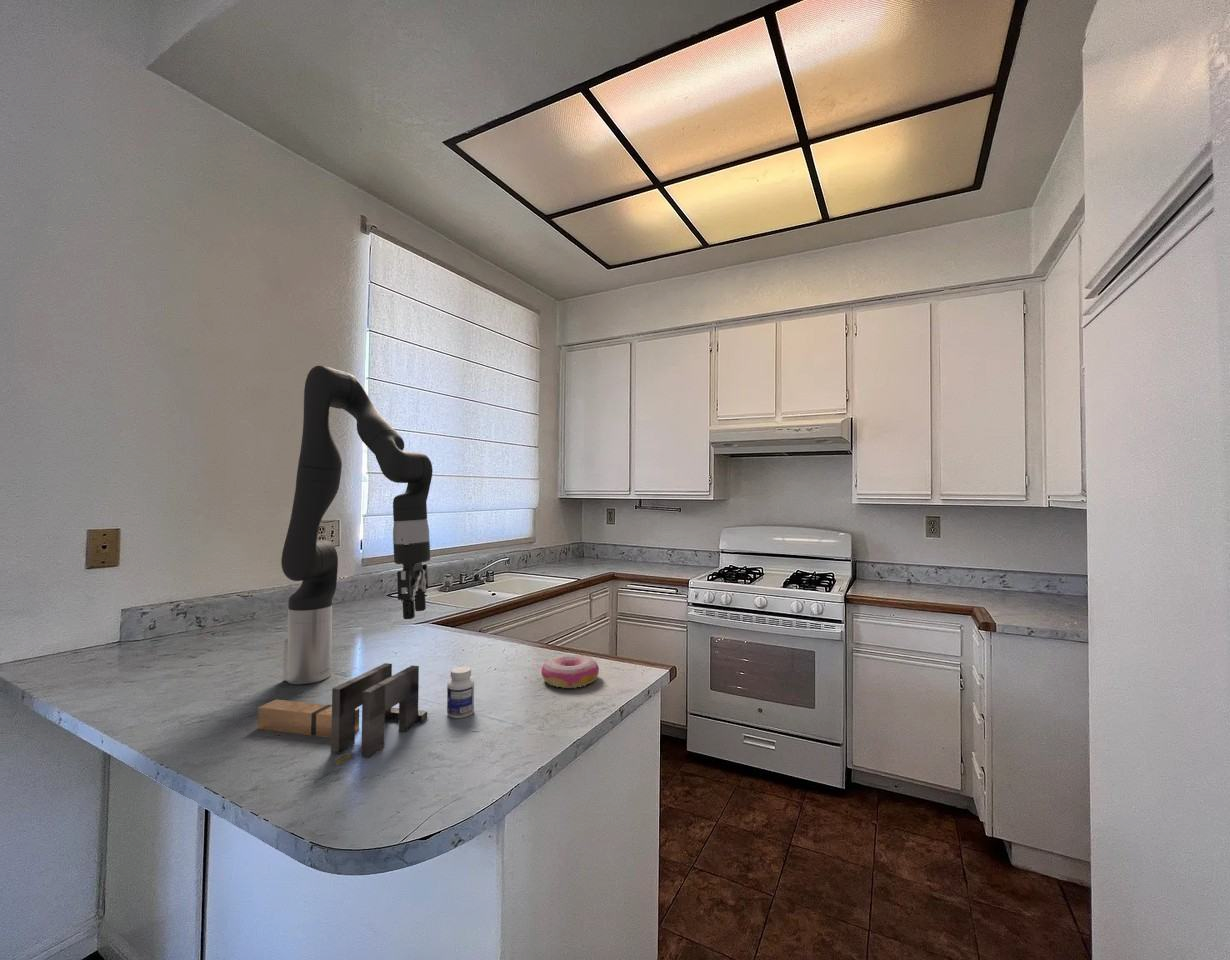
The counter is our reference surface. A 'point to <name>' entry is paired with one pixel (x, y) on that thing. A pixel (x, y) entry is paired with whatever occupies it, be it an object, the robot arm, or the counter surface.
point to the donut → (570, 671)
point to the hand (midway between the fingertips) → (415, 614)
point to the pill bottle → (460, 693)
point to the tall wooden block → (298, 717)
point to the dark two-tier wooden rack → (374, 708)
